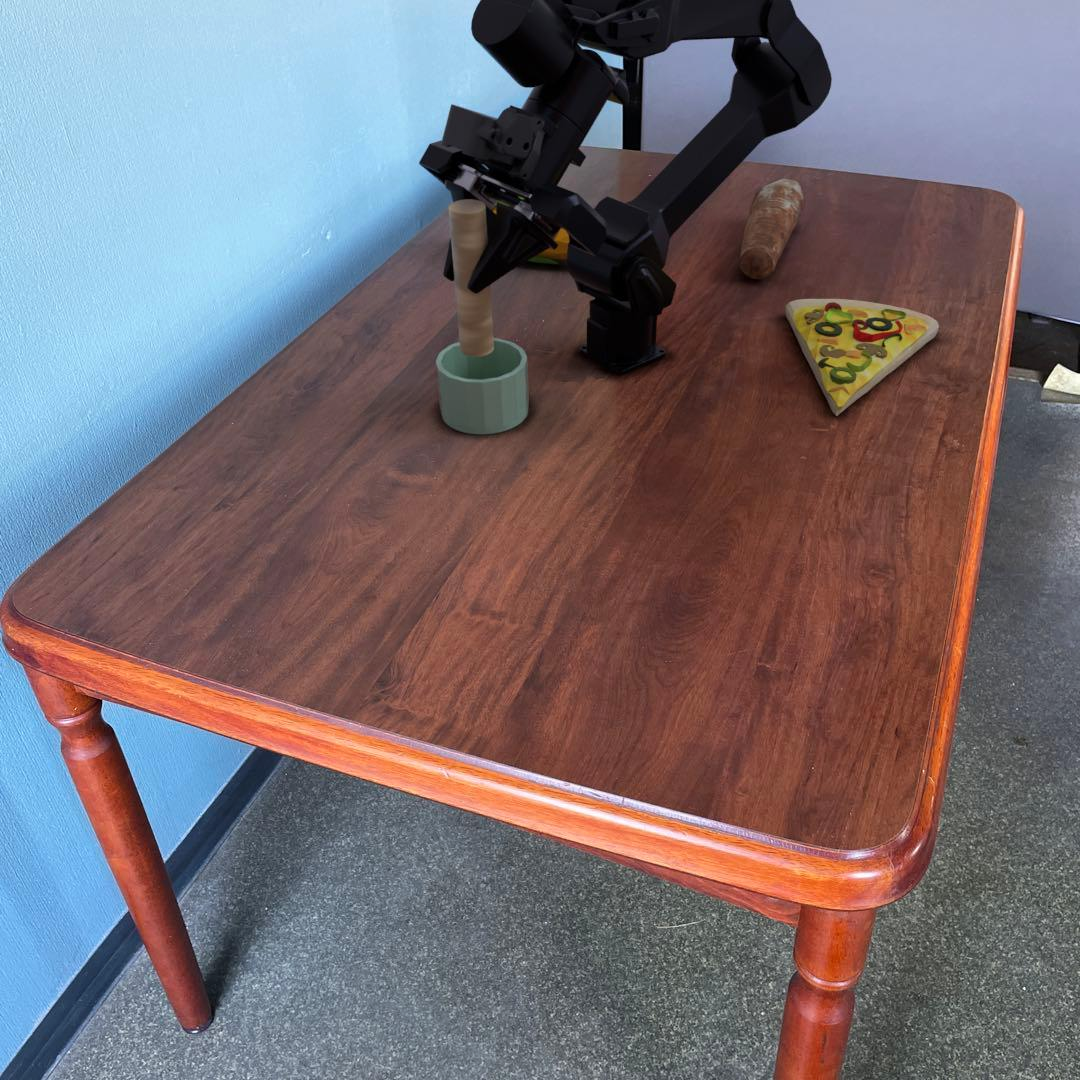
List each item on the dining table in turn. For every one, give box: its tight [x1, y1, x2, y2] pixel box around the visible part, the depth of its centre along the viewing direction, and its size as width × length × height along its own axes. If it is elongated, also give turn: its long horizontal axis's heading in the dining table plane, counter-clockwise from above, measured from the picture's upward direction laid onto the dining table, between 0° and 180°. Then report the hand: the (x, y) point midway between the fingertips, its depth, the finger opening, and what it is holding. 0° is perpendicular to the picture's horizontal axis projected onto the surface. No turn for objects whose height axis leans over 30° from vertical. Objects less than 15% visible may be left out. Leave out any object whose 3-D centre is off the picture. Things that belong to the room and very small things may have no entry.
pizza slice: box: [785, 298, 940, 417], centre depth 105 cm, size 16×21×3 cm
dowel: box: [448, 199, 495, 357], centre depth 91 cm, size 3×3×13 cm
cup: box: [435, 337, 530, 435], centre depth 99 cm, size 8×8×6 cm
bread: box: [738, 177, 806, 280], centre depth 126 cm, size 6×19×6 cm, turn 160°
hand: (459, 284), depth 90 cm, fingers closed on dowel, 3 cm apart
